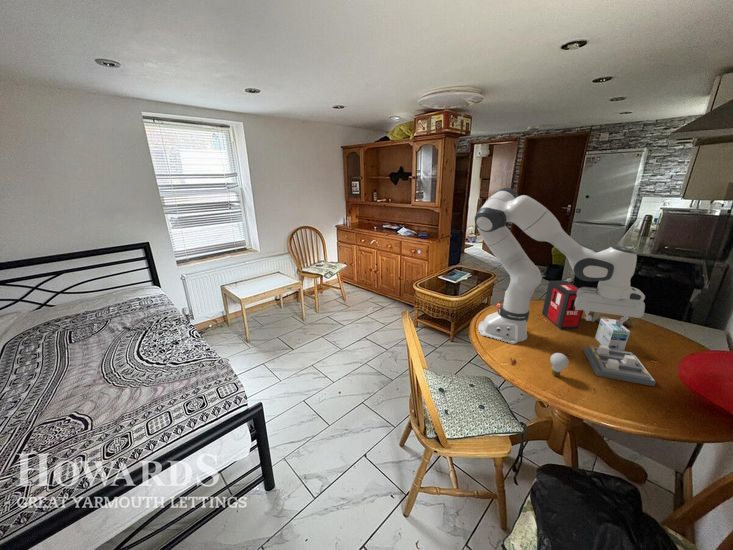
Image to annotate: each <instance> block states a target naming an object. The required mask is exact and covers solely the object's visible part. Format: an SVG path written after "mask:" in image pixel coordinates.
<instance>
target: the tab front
mask: <svg viewBox="0 0 733 550" xmlns="http://www.w3.org/2000/svg"><path fill="white" fill-rule="evenodd" d="M604 366H605V368H610V369H616V370H619V368H618V367H619V362H618V361H617V360H614V359H608V362H607V364H604Z"/></svg>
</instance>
